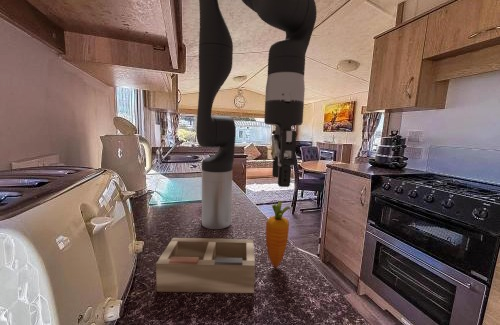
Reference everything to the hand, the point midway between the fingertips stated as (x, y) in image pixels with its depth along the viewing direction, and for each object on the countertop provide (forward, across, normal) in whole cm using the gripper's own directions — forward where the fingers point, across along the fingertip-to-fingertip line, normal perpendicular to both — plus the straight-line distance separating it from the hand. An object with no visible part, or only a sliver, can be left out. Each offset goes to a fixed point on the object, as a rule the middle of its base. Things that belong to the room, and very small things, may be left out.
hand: (280, 181), depth 46 cm
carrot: (+20, 0, 0) cm, 20 cm away
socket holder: (+19, +3, -14) cm, 24 cm away
